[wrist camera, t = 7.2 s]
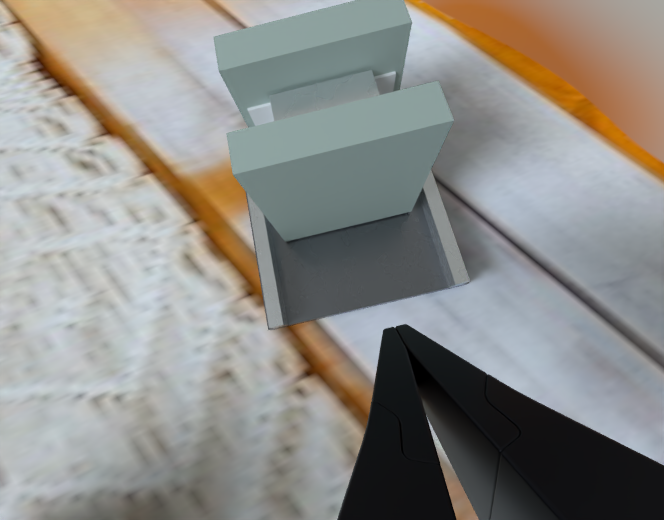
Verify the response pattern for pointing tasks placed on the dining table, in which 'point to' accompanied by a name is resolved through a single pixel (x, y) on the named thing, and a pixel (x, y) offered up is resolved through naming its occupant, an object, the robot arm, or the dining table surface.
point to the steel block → (323, 95)
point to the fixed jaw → (313, 52)
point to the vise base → (357, 262)
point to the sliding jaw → (342, 160)
